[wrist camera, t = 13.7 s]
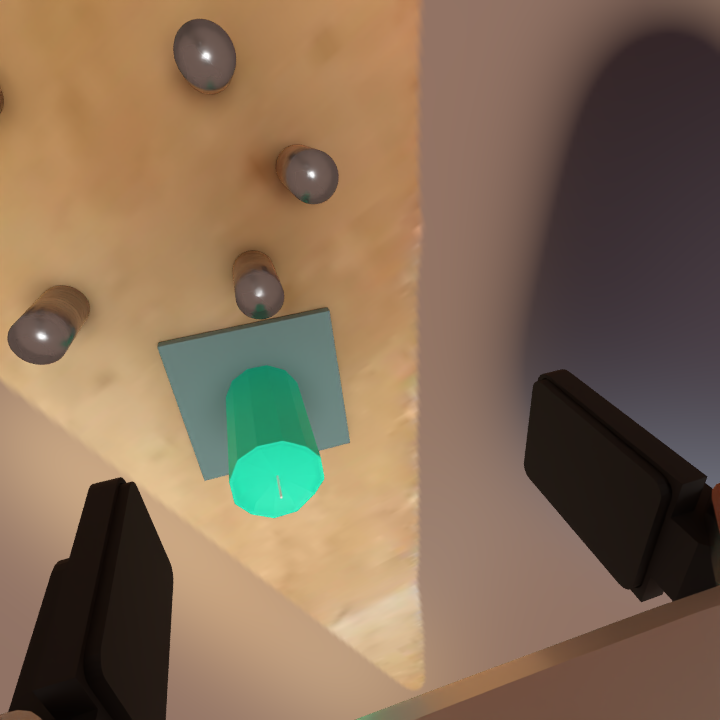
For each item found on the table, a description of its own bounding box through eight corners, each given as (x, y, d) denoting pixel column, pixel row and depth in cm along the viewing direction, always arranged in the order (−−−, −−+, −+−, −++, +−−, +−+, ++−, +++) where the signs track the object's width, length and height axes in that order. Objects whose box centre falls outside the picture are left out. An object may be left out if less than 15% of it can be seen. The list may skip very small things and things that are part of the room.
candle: (246, 439, 41) (257, 549, 30) (211, 385, 38) (211, 486, 27) (311, 409, 41) (343, 507, 31) (281, 353, 38) (307, 440, 28)
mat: (158, 342, 36) (157, 347, 35) (327, 307, 38) (329, 310, 38) (204, 474, 42) (204, 480, 41) (347, 437, 44) (349, 442, 44)
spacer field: (-169, 73, 25) (-267, 62, 20) (298, 26, 30) (316, 7, 25) (-20, 344, 33) (-64, 387, 28) (335, 274, 37) (354, 300, 32)
